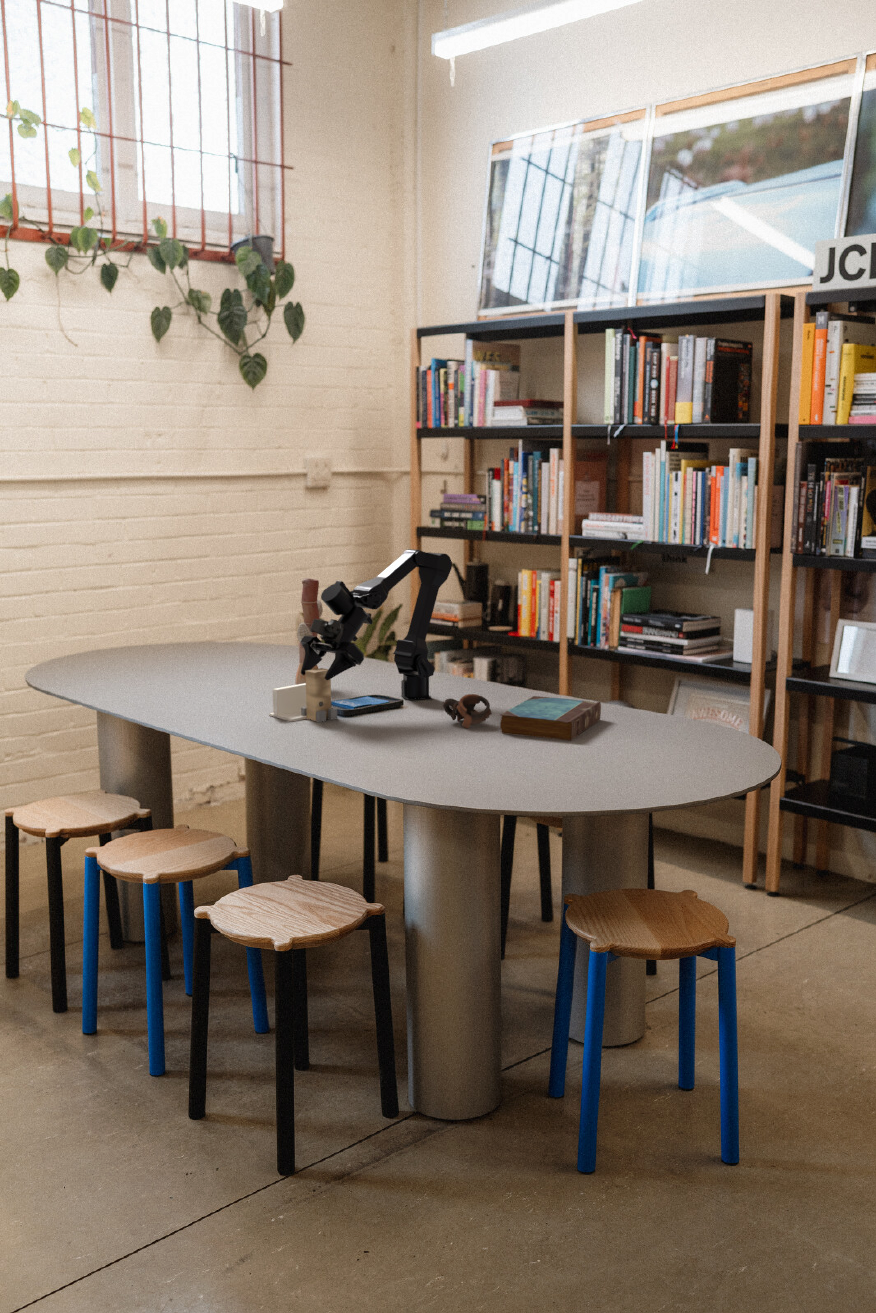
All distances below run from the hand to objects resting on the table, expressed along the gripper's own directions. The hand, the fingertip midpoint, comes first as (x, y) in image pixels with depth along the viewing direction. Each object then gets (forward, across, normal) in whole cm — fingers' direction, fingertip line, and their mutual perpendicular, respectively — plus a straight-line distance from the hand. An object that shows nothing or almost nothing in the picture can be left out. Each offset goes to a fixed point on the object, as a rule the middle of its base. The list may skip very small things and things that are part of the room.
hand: (313, 676), depth 287 cm
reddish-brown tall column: (-11, -34, +26) cm, 44 cm away
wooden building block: (+6, 0, +8) cm, 11 cm away
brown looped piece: (-8, +30, +24) cm, 39 cm away
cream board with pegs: (+7, -4, +8) cm, 11 cm away
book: (-16, +47, +32) cm, 59 cm away
